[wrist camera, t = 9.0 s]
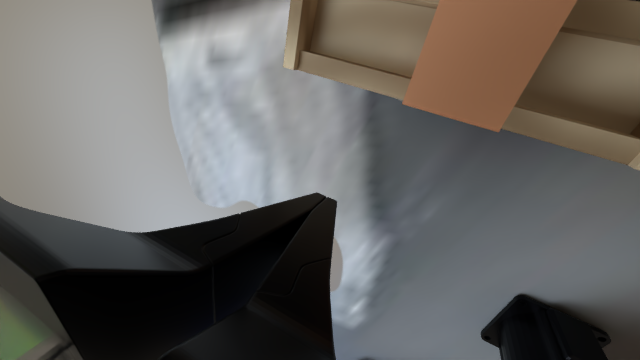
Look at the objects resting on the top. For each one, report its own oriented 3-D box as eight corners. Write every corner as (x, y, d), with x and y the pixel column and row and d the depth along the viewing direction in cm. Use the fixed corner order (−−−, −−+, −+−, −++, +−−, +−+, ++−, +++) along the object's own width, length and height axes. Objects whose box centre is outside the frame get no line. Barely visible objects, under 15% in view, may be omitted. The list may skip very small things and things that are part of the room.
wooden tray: (596, 153, 15) (646, 184, 12) (312, 71, 21) (282, 74, 17) (706, 22, 12) (831, 4, 8) (330, -35, 17) (297, -62, 13)
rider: (482, 109, 15) (498, 132, 10) (414, 91, 16) (401, 104, 11) (536, 8, 12) (590, -23, 8) (451, -6, 13) (454, -40, 9)
